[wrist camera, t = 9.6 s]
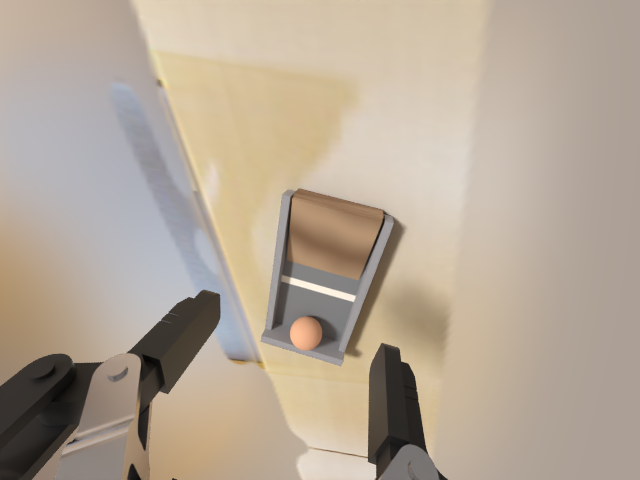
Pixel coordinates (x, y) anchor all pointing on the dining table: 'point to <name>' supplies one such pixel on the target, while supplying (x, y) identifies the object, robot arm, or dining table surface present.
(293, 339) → the ball
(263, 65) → the dining table surface
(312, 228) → the ramp
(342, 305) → the lane
